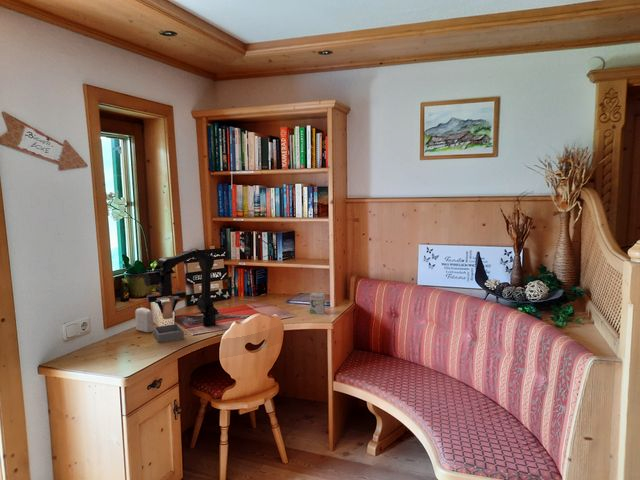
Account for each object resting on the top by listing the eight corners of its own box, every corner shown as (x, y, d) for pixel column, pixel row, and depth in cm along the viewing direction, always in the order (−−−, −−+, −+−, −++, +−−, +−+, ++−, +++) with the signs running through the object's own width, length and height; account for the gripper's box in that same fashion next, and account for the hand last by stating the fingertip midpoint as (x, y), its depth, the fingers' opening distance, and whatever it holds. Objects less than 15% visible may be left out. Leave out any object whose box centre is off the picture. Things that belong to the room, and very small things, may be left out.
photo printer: (154, 330, 249) (153, 308, 248) (148, 333, 245) (146, 310, 244) (141, 327, 254) (140, 305, 253) (134, 330, 250) (133, 307, 249)
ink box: (325, 312, 282) (325, 293, 280) (323, 314, 277) (323, 295, 275) (312, 311, 284) (311, 292, 283) (309, 313, 279) (309, 294, 278)
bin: (177, 330, 249) (177, 323, 248) (183, 338, 236) (183, 331, 236) (153, 334, 243) (153, 327, 242) (159, 342, 230) (158, 335, 230)
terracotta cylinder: (171, 315, 242) (171, 300, 241) (173, 318, 237) (173, 302, 236) (161, 317, 239) (160, 301, 238) (163, 319, 235) (162, 304, 234)
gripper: (180, 278, 247) (182, 306, 249) (143, 282, 238) (145, 311, 240) (186, 281, 238) (187, 311, 240) (147, 286, 229) (149, 317, 231)
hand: (167, 312), depth 238 cm, fingers closed on terracotta cylinder, 5 cm apart
